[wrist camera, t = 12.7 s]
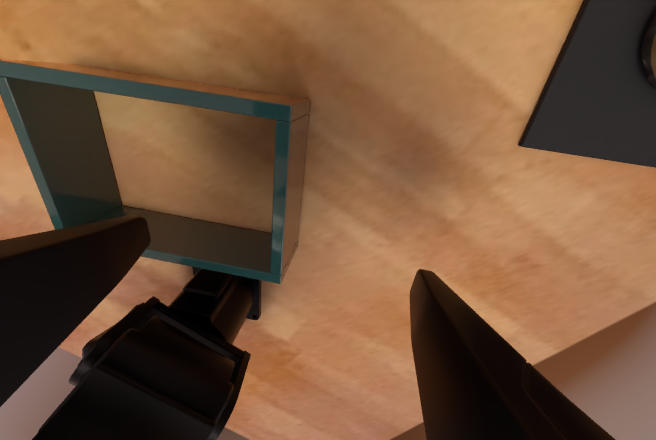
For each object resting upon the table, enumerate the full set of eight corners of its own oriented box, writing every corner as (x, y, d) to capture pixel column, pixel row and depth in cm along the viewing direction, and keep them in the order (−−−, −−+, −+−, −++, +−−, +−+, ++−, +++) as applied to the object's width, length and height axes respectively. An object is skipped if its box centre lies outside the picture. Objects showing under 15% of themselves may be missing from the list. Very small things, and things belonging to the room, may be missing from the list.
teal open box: (298, 246, 23) (281, 284, 19) (116, 212, 24) (59, 240, 20) (311, 100, 18) (291, 105, 13) (75, 64, 19) (-16, 58, 14)
